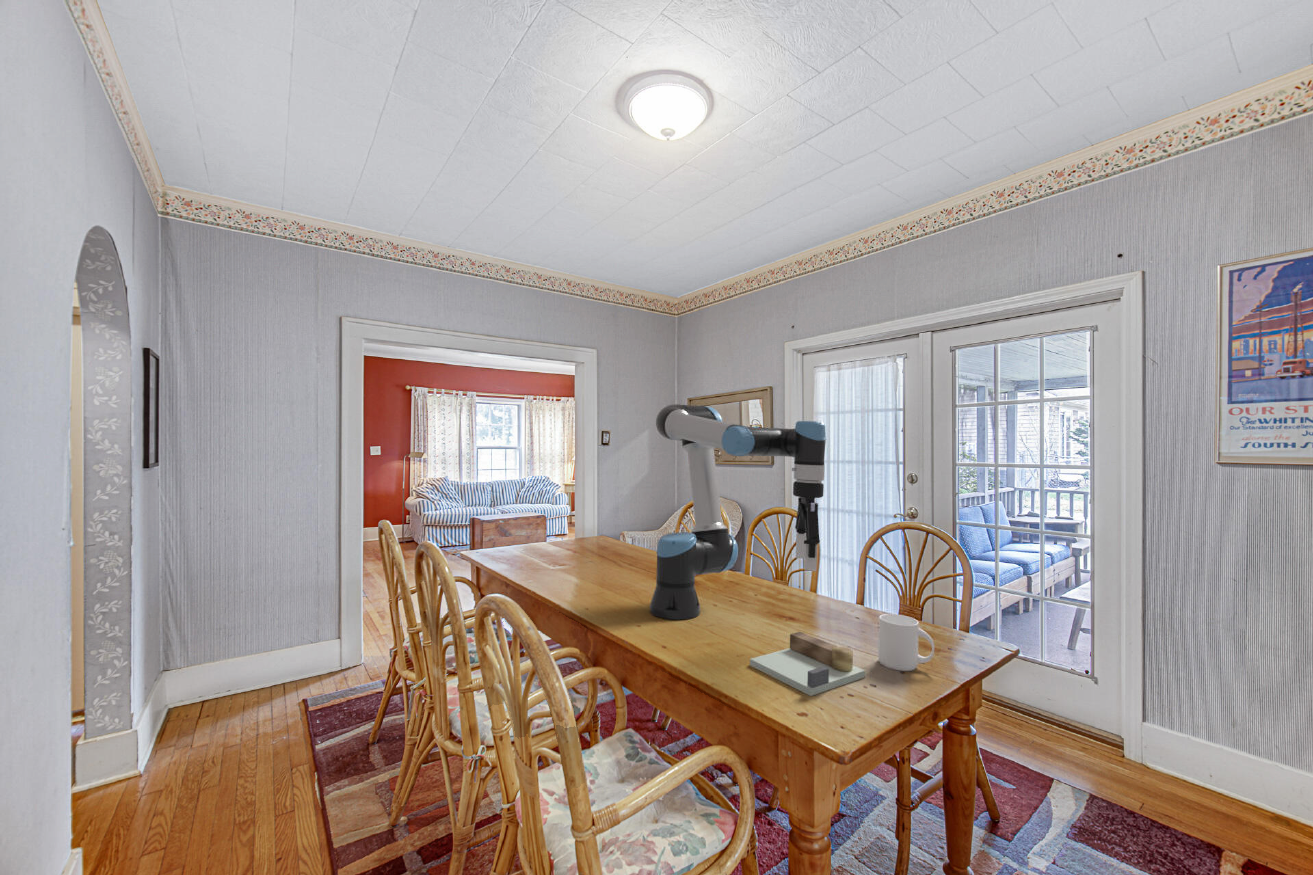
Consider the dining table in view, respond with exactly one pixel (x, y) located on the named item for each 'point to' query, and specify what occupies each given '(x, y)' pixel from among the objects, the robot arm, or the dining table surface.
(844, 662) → the leg
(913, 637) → the mug
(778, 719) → the dining table surface
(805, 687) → the seat board
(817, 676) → the block
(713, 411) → the robot arm
